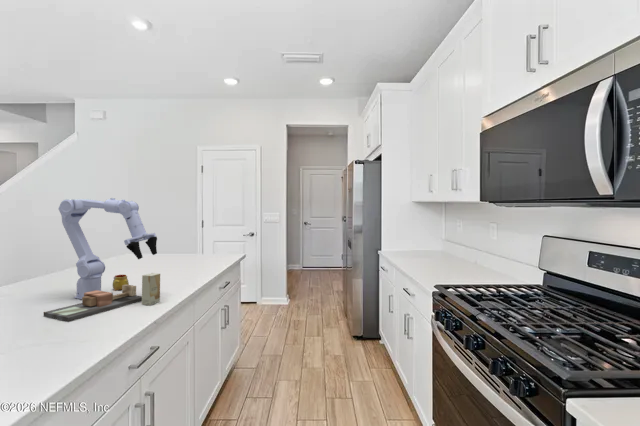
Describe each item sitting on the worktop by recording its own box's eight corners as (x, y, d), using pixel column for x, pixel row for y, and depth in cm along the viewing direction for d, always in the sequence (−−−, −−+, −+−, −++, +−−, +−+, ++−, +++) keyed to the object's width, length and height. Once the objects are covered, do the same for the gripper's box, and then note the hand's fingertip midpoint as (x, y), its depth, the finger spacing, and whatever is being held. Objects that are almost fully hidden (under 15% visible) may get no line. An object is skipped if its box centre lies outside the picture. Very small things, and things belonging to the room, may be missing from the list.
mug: (128, 290, 169) (129, 276, 169) (112, 291, 166) (112, 277, 166) (128, 285, 180) (128, 272, 180) (112, 286, 176) (113, 272, 176)
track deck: (43, 316, 128) (43, 300, 128) (121, 296, 157) (122, 283, 157) (68, 321, 122) (68, 304, 122) (144, 300, 152) (144, 286, 151)
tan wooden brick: (81, 304, 136) (81, 294, 136) (126, 293, 154) (126, 284, 154) (91, 306, 134) (91, 296, 134) (136, 295, 152) (136, 285, 152)
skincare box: (150, 305, 144) (150, 275, 144) (141, 304, 145) (141, 275, 144) (160, 301, 150) (160, 273, 150) (151, 300, 151) (151, 272, 151)
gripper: (127, 226, 143) (139, 257, 143) (155, 221, 157) (167, 249, 156) (116, 232, 146) (128, 262, 146) (145, 226, 159) (156, 254, 159)
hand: (147, 256), depth 151 cm, fingers open, 7 cm apart
